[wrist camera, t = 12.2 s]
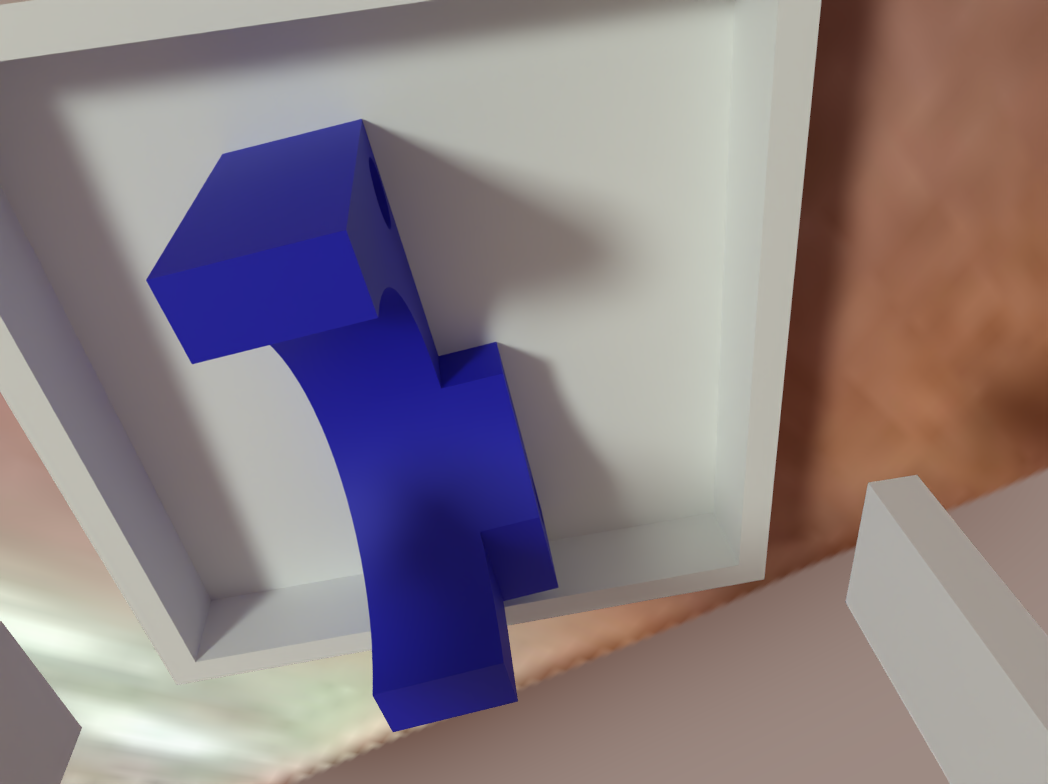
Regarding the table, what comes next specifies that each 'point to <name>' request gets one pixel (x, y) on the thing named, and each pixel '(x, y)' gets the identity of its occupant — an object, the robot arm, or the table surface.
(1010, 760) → the robot arm
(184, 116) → the kit tray
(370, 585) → the blue curved block
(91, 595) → the table surface
